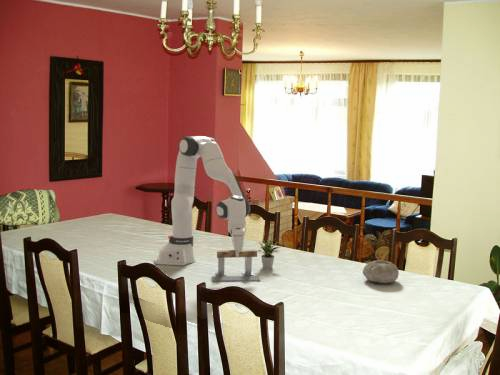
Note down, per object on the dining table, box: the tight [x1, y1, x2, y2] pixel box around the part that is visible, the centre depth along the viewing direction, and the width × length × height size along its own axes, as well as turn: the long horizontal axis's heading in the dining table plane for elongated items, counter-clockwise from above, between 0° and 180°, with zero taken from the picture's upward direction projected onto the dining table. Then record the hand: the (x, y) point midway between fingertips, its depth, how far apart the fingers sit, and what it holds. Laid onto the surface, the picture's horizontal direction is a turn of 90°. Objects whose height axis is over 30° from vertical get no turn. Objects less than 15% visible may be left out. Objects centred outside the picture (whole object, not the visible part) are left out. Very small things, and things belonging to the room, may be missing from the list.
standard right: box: [242, 257, 255, 276], centre depth 310 cm, size 5×6×10 cm
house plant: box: [257, 237, 282, 270], centre depth 322 cm, size 14×14×16 cm
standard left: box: [215, 258, 227, 276], centre depth 308 cm, size 5×6×10 cm
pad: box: [211, 275, 261, 283], centre depth 302 cm, size 24×7×1 cm, turn 96°
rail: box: [216, 249, 258, 259], centre depth 300 cm, size 20×3×3 cm, turn 96°
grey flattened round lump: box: [362, 259, 400, 284], centre depth 303 cm, size 18×18×10 cm
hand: (236, 255), depth 300 cm, fingers closed on rail, 3 cm apart
